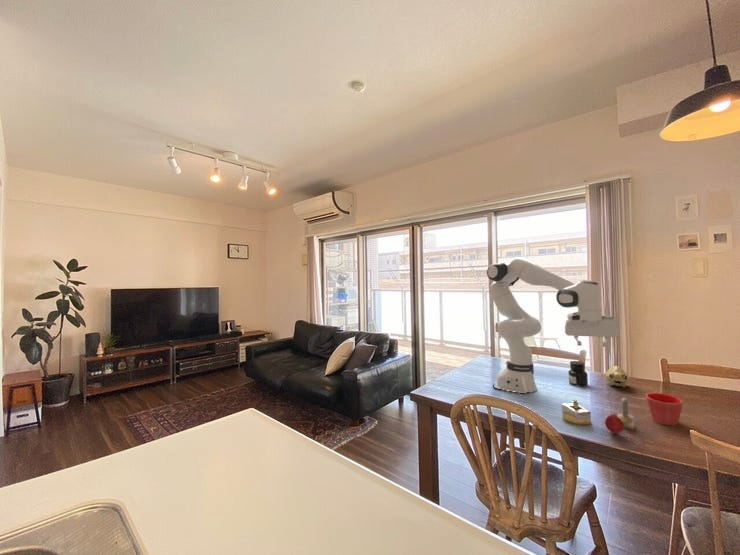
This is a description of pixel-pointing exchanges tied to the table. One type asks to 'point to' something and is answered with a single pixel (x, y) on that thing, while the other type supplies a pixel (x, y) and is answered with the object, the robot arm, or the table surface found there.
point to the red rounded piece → (614, 424)
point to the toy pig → (617, 376)
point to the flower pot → (664, 408)
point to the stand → (626, 415)
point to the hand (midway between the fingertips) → (591, 345)
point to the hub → (572, 420)
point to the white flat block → (576, 411)
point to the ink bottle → (578, 374)
